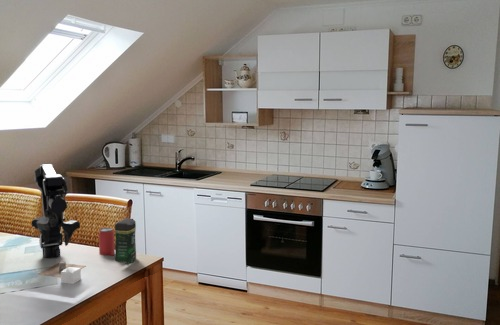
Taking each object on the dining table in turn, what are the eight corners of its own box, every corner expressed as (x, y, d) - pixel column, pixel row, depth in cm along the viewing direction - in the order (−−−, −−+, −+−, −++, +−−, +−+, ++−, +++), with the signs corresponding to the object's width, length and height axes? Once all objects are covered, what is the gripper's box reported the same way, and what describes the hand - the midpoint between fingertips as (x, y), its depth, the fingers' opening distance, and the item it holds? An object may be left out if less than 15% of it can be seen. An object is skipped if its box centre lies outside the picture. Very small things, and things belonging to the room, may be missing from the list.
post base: (37, 277, 179) (37, 266, 178) (59, 265, 191) (59, 255, 190) (66, 281, 175) (65, 270, 175) (86, 269, 188) (86, 259, 187)
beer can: (110, 258, 201) (109, 232, 199) (96, 256, 202) (95, 230, 200) (117, 253, 207) (116, 227, 206) (104, 251, 209) (103, 226, 207)
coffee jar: (130, 265, 193) (129, 223, 190) (112, 264, 194) (111, 222, 191) (138, 257, 202) (138, 217, 199) (121, 256, 203) (120, 216, 200)
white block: (61, 286, 171) (60, 271, 170) (69, 280, 176) (69, 266, 175) (72, 287, 170) (72, 273, 169) (81, 282, 175) (80, 268, 174)
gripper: (20, 209, 175) (22, 248, 177) (61, 214, 170) (63, 253, 173) (40, 202, 185) (42, 239, 188) (80, 207, 181) (81, 244, 183)
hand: (56, 244), depth 183 cm, fingers open, 9 cm apart
